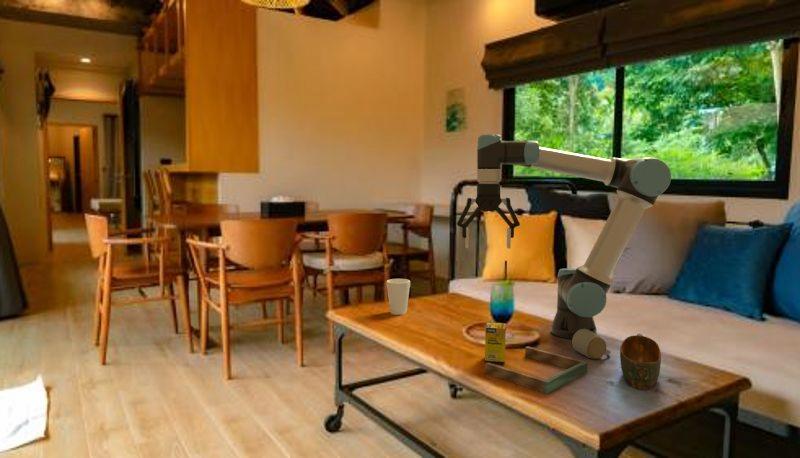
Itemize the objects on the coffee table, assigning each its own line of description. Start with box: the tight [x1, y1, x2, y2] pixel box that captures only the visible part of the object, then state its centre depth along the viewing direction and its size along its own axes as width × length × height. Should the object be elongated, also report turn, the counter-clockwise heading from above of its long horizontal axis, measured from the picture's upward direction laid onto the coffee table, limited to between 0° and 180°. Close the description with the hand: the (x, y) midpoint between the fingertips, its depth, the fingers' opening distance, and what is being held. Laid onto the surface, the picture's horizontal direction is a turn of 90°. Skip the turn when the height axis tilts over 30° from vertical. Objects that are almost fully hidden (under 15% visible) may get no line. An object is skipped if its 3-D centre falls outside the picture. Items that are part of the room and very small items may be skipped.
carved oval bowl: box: [619, 333, 662, 391], centre depth 150 cm, size 13×20×10 cm, turn 131°
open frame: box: [484, 346, 589, 395], centre depth 154 cm, size 20×21×3 cm
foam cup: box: [386, 278, 411, 316], centre depth 220 cm, size 10×9×13 cm
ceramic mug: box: [571, 329, 611, 360], centre depth 169 cm, size 11×8×8 cm
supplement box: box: [484, 322, 507, 365], centre depth 164 cm, size 6×6×11 cm
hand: (487, 248), depth 179 cm, fingers open, 13 cm apart
